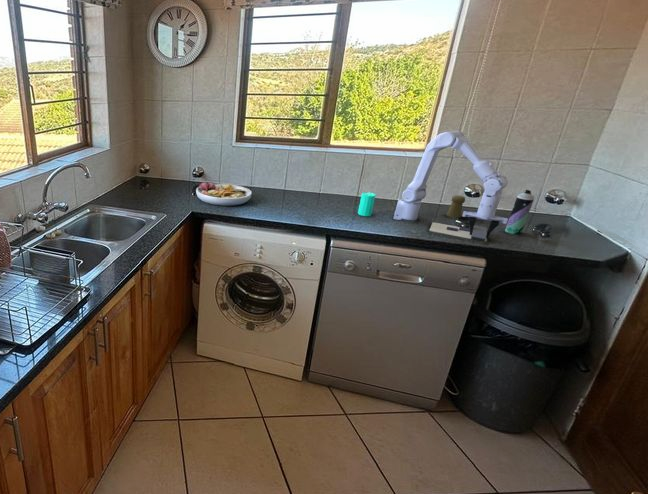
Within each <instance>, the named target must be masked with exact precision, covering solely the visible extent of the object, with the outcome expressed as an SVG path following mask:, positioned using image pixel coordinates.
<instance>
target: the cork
mask: <svg viewBox="0 0 648 494" xmlns="http://www.w3.org/2000/svg"><path fill="white" fill-rule="evenodd" d="M465 201H466V197H465V196H463V195H459V194H458V195H457V194H455V195H453V196H452V197H451V204H450V206H449V207H448V210H447V212H446V214H445V215H446V216H447V217H451V218H456V219H457V218H462V213H463V211H462V210H463V204H464V203H465Z"/></svg>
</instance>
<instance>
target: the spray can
mask: <svg viewBox="0 0 648 494" xmlns="http://www.w3.org/2000/svg"><path fill="white" fill-rule="evenodd" d="M534 201H535V196H534V195H533V194H532V191H531V190H530V189H525V191H523V192H522V193H518V194H517V196H516V199H515V202H514V205H513V207H512V209H511V213H510V215H509V218H508V221H507V224H506V227H505V229H504V232H506V233H509V234H511V235H521V234H522V232H523V230H524V228H525V225H526V222H527V219H528V217H529V214H530V211H531V209H532V206H533V203H534Z"/></svg>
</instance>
